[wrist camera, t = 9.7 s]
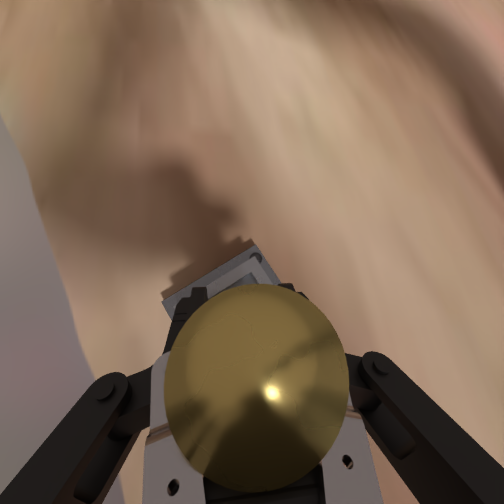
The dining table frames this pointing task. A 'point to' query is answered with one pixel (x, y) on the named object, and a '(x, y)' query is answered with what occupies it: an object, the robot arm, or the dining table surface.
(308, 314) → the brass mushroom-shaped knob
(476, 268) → the dining table surface
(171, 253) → the dining table surface
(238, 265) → the square tray with knobs
